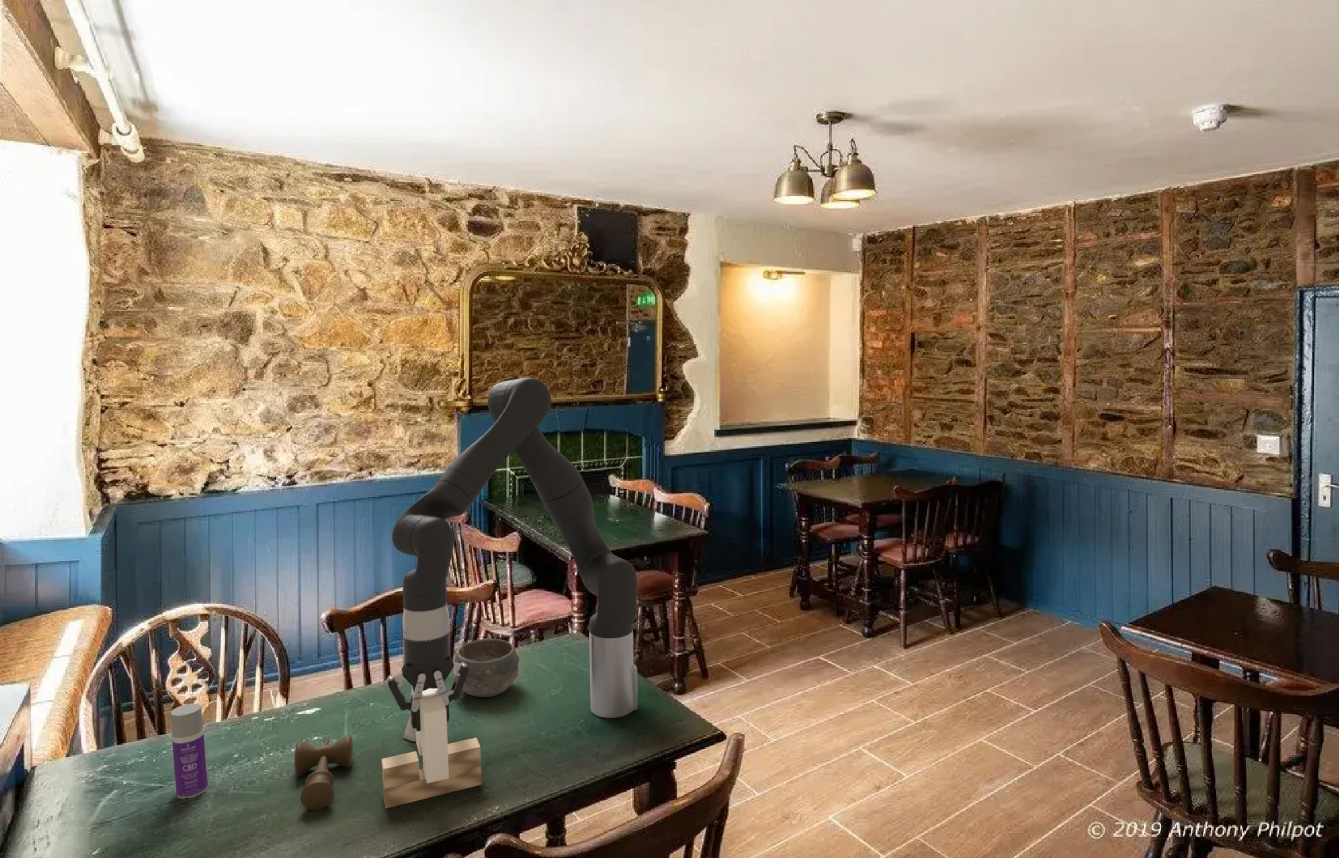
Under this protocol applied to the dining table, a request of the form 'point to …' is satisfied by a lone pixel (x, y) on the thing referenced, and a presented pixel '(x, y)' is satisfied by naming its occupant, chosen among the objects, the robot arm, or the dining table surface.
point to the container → (189, 751)
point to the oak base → (410, 782)
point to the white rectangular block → (433, 736)
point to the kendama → (321, 769)
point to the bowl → (488, 666)
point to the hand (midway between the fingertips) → (430, 726)
